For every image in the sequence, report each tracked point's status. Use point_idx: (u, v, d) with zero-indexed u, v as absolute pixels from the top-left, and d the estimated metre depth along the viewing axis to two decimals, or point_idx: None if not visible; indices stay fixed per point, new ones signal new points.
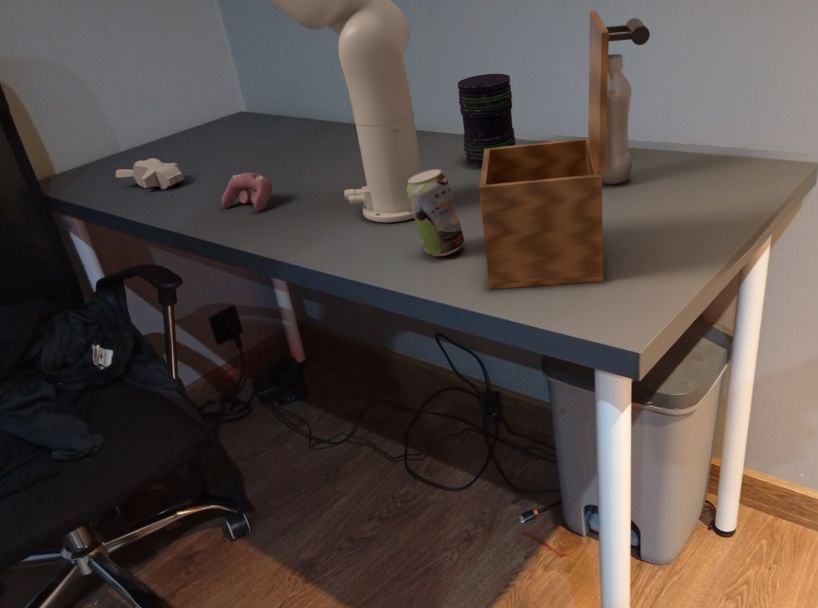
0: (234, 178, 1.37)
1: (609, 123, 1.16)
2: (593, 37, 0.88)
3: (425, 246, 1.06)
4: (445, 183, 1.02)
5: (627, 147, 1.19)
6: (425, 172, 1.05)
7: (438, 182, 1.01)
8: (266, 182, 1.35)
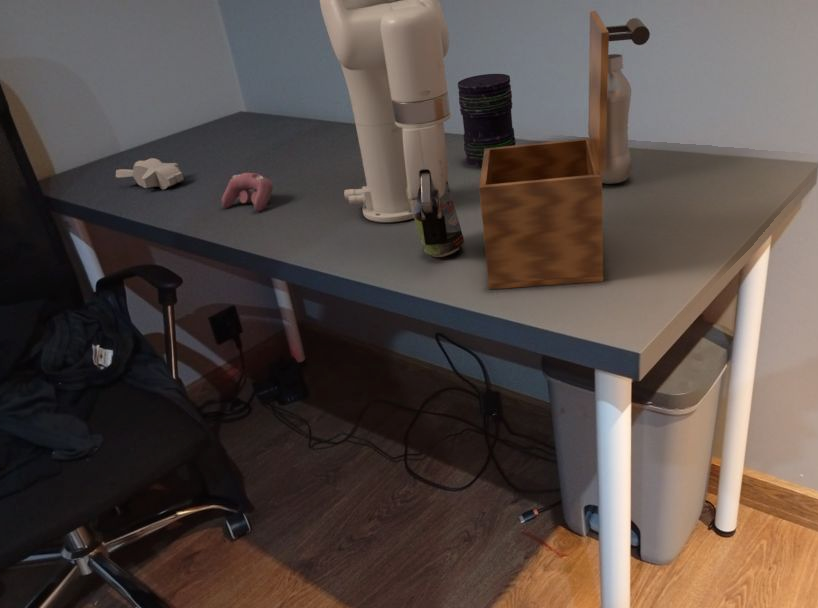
0: (234, 178, 1.37)
1: (609, 123, 1.16)
2: (593, 37, 0.88)
3: (424, 247, 1.06)
4: None
5: (627, 147, 1.19)
6: None
7: None
8: (266, 182, 1.35)
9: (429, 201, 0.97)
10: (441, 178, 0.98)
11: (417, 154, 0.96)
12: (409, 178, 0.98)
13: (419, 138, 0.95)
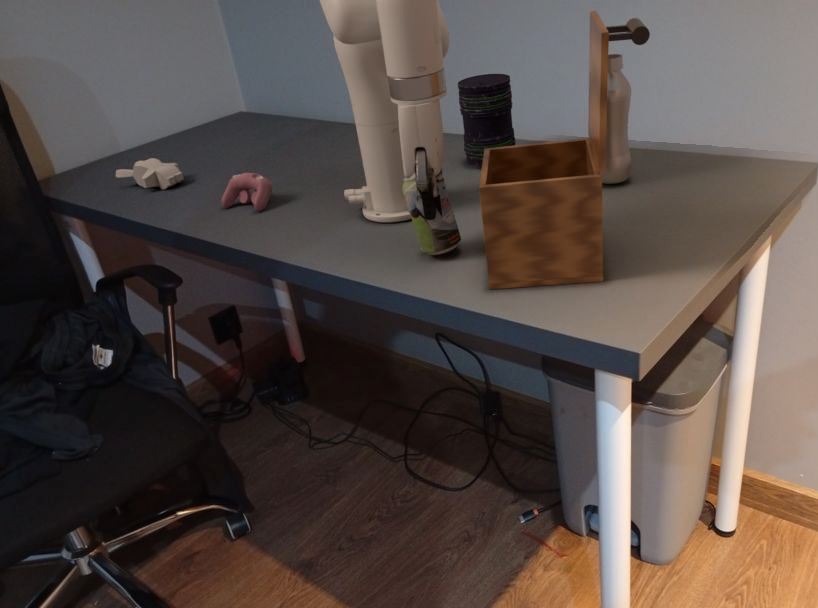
0: (234, 178, 1.37)
1: (609, 123, 1.16)
2: (593, 37, 0.88)
3: (420, 244, 1.06)
4: (439, 181, 1.02)
5: (627, 147, 1.19)
6: None
7: (431, 179, 1.01)
8: (266, 182, 1.35)
9: (425, 180, 0.96)
10: (437, 156, 0.97)
11: (413, 131, 0.95)
12: (405, 155, 0.97)
13: (415, 114, 0.94)
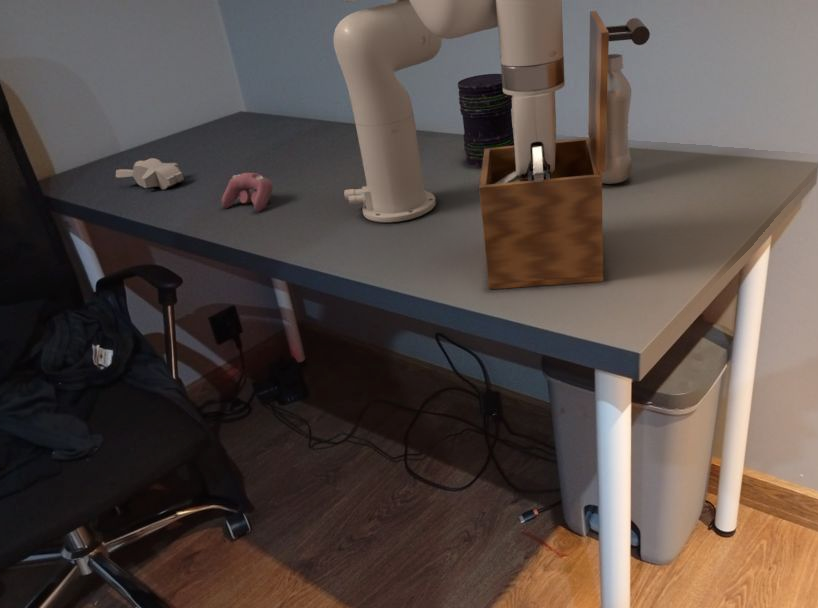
0: (234, 178, 1.37)
1: (609, 123, 1.16)
2: (593, 37, 0.88)
3: None
4: None
5: (627, 147, 1.19)
6: (508, 175, 0.97)
7: (521, 181, 0.93)
8: (266, 182, 1.35)
9: (542, 171, 0.87)
10: (554, 152, 0.89)
11: (530, 124, 0.87)
12: (519, 151, 0.89)
13: (534, 106, 0.86)
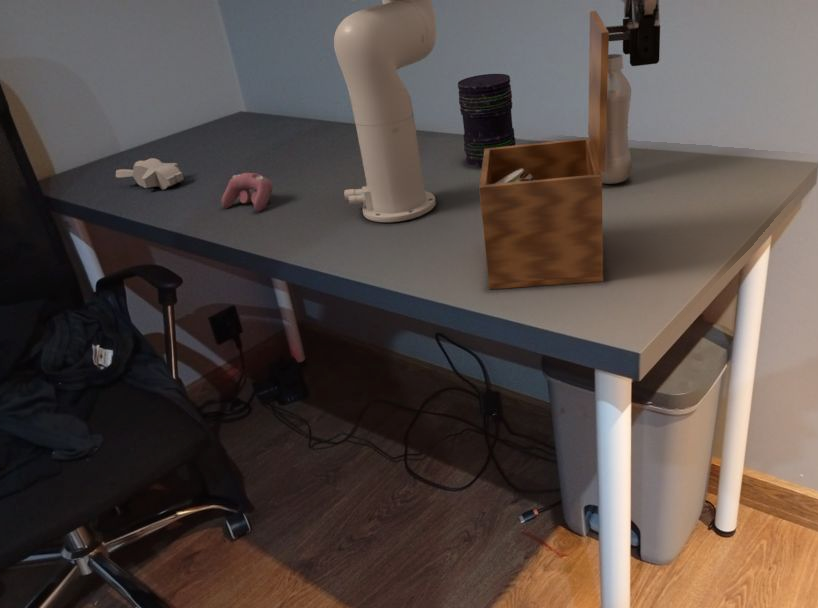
0: (234, 178, 1.37)
1: (609, 123, 1.16)
2: (593, 37, 0.88)
3: None
4: (529, 180, 0.94)
5: (627, 147, 1.19)
6: (508, 175, 0.97)
7: (521, 181, 0.93)
8: (266, 182, 1.35)
9: None
10: None
11: None
12: None
13: None
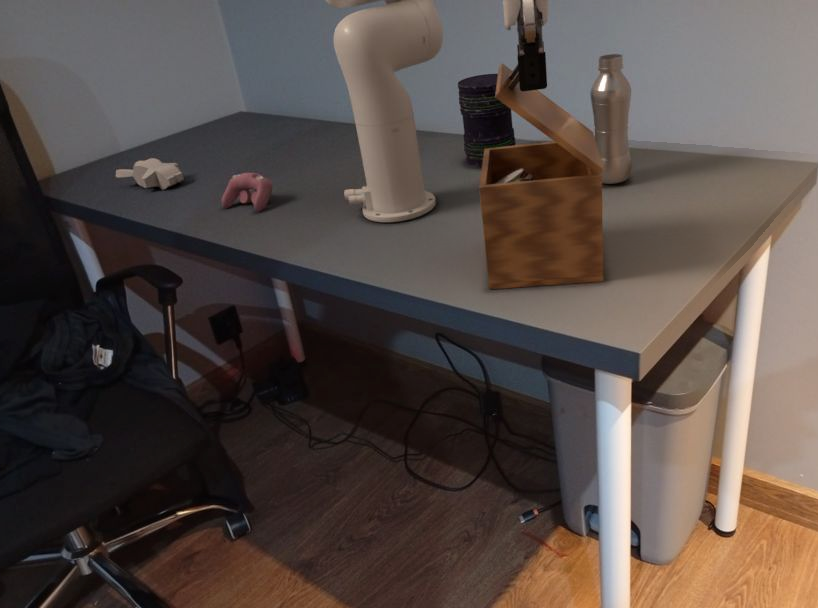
0: (234, 178, 1.37)
1: (609, 123, 1.16)
2: None
3: None
4: (529, 180, 0.94)
5: (627, 147, 1.19)
6: (508, 175, 0.97)
7: (521, 181, 0.93)
8: (266, 182, 1.35)
9: (533, 21, 0.79)
10: None
11: None
12: None
13: None
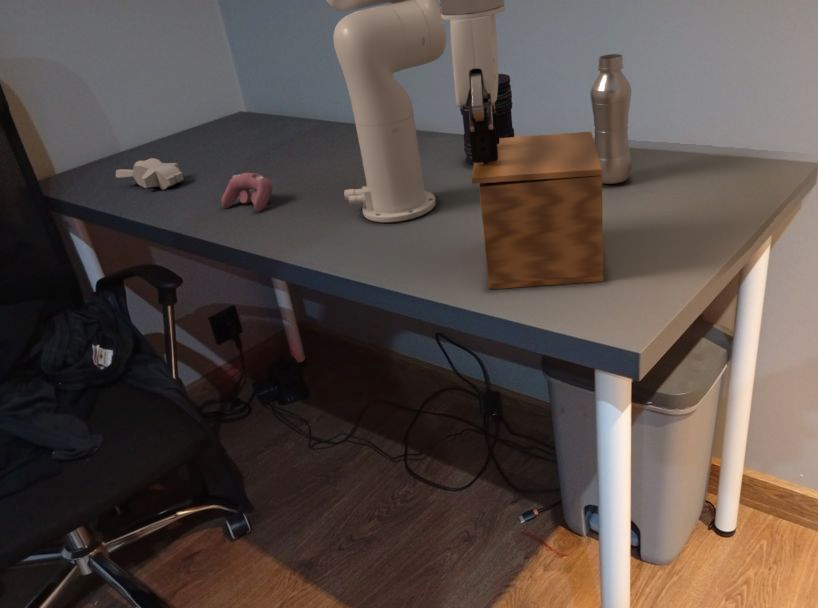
0: (234, 178, 1.37)
1: (609, 123, 1.16)
2: None
3: None
4: (529, 180, 0.94)
5: (627, 147, 1.19)
6: None
7: (521, 181, 0.93)
8: (266, 182, 1.35)
9: (481, 104, 0.84)
10: (494, 80, 0.85)
11: (467, 50, 0.83)
12: (458, 79, 0.85)
13: (471, 30, 0.83)
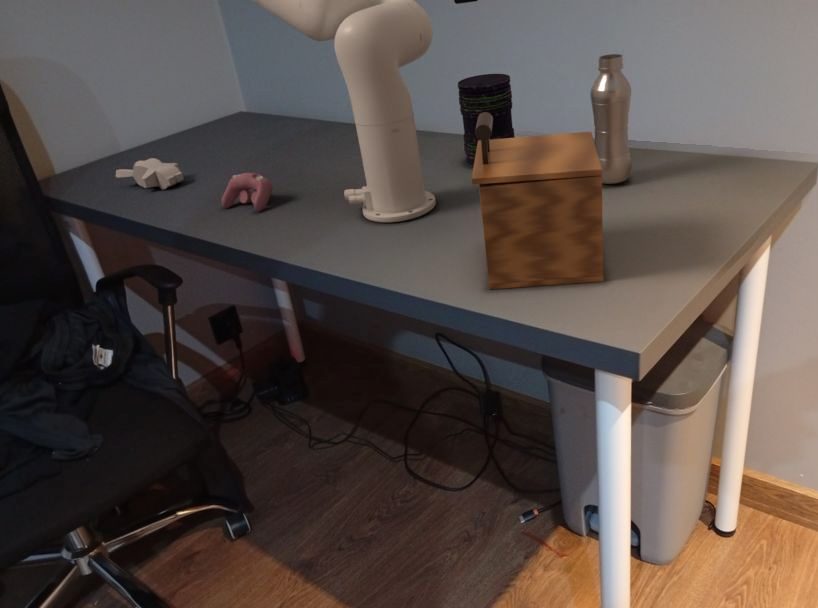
0: (234, 178, 1.37)
1: (609, 123, 1.16)
2: None
3: None
4: None
5: (627, 147, 1.19)
6: None
7: (521, 181, 0.93)
8: (266, 182, 1.35)
9: None
10: None
11: None
12: None
13: None
